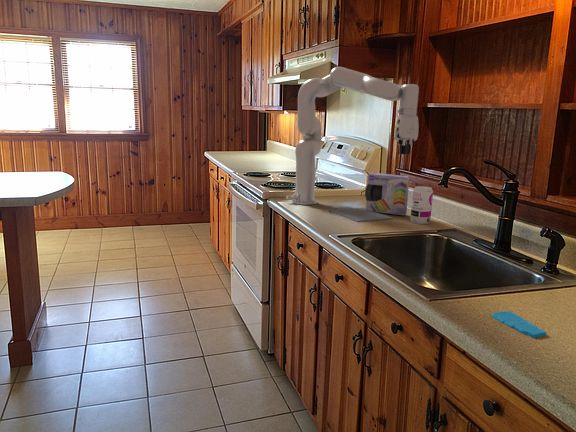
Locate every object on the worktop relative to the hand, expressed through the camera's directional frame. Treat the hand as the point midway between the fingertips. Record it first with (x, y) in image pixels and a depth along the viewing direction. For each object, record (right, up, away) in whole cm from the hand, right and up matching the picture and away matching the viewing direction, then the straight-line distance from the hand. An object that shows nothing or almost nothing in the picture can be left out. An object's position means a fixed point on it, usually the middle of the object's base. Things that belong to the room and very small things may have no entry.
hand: (404, 153), depth 220 cm
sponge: (-1, -54, -111) cm, 123 cm away
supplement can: (+3, -31, -14) cm, 34 cm away
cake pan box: (-9, -27, +2) cm, 29 cm away
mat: (-20, -28, -3) cm, 35 cm away
